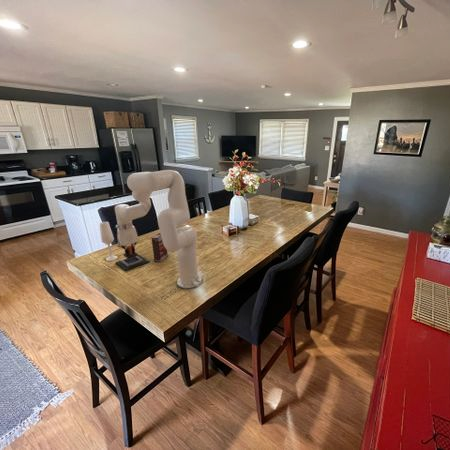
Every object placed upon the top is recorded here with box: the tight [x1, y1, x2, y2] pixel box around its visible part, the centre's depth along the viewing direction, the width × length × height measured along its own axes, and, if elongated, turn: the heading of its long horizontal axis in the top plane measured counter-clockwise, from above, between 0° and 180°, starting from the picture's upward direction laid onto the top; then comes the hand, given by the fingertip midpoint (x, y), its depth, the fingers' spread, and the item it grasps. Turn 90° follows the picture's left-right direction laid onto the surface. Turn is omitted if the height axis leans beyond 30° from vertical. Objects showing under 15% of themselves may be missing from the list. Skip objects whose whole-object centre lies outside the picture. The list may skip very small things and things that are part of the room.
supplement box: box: [151, 232, 169, 263], centre depth 151 cm, size 9×5×16 cm, turn 168°
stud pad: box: [122, 245, 139, 259], centre depth 145 cm, size 6×6×6 cm
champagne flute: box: [99, 221, 118, 262], centre depth 149 cm, size 7×7×24 cm
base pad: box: [115, 254, 149, 272], centre depth 147 cm, size 14×14×2 cm
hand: (130, 253), depth 146 cm, fingers closed on stud pad, 2 cm apart
